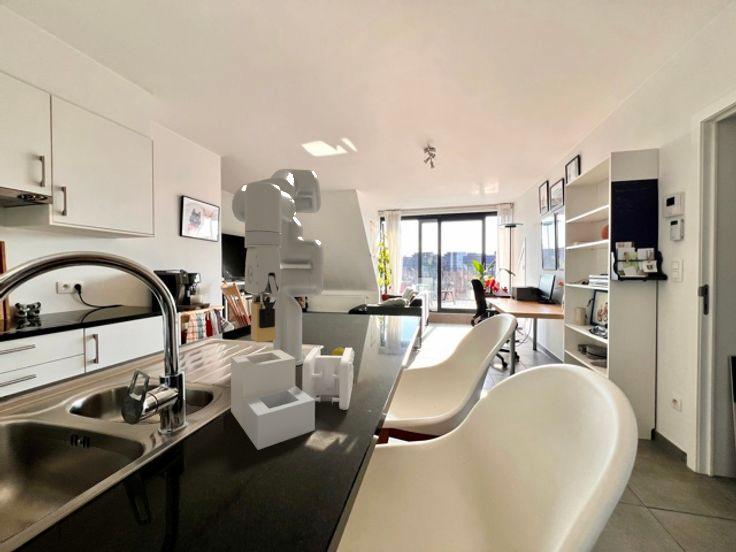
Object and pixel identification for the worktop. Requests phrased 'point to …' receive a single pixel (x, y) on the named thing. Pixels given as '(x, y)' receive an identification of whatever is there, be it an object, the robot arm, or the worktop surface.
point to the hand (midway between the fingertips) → (263, 324)
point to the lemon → (338, 352)
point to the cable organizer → (329, 376)
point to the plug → (256, 331)
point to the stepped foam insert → (269, 398)
